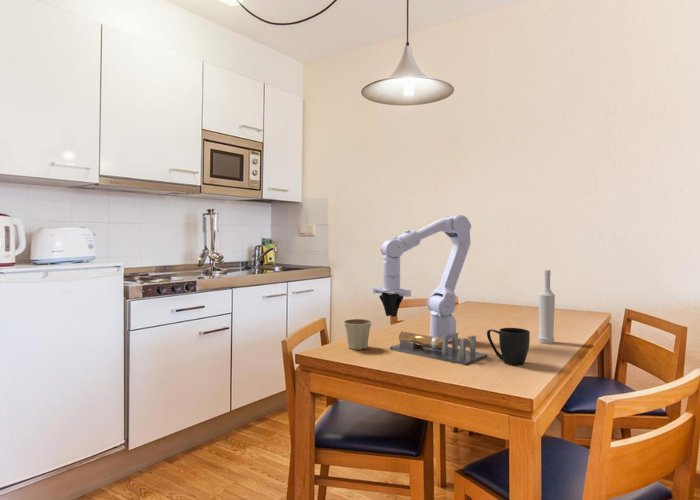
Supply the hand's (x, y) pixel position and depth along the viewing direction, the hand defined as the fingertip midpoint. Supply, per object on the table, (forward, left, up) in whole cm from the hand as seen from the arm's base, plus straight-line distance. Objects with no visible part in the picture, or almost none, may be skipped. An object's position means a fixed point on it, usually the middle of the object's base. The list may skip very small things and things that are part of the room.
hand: (391, 316), depth 157 cm
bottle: (-39, +38, -10) cm, 55 cm away
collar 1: (0, +23, -9) cm, 24 cm away
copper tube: (0, +13, -8) cm, 15 cm away
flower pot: (+12, -4, -10) cm, 16 cm away
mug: (-5, +39, -10) cm, 40 cm away
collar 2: (0, +29, -9) cm, 30 cm away
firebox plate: (0, +18, -9) cm, 20 cm away
